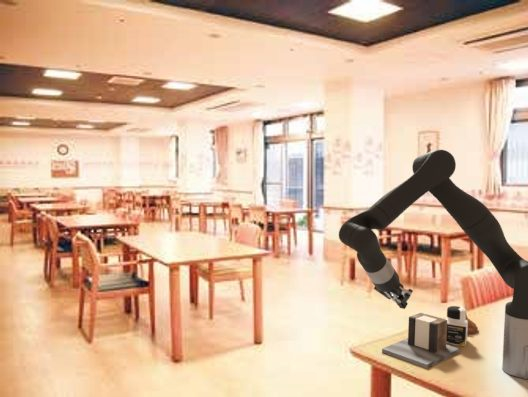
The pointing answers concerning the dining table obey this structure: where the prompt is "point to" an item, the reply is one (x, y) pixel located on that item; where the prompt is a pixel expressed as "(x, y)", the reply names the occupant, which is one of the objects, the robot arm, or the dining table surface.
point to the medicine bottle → (456, 326)
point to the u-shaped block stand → (418, 354)
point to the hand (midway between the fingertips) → (403, 306)
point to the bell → (471, 327)
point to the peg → (422, 331)
